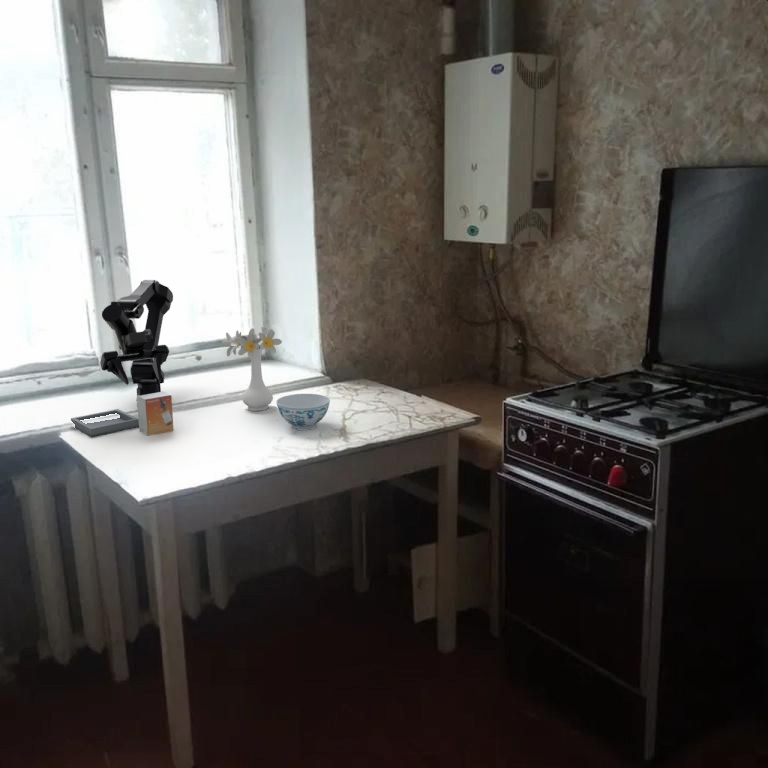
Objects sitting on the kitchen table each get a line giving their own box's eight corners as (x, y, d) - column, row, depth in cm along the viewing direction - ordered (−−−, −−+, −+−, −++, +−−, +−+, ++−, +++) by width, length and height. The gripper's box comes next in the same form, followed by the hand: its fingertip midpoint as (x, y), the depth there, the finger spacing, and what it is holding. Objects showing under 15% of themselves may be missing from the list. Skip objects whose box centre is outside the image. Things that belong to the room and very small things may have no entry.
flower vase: (234, 401, 255) (230, 323, 249) (290, 404, 252) (287, 325, 246) (219, 413, 243) (214, 331, 237) (277, 416, 240) (274, 333, 233)
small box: (147, 436, 221) (144, 399, 219) (138, 431, 225) (135, 395, 223) (174, 430, 226) (171, 394, 224) (165, 426, 230) (163, 390, 228)
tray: (118, 417, 239) (117, 409, 239) (139, 427, 229) (138, 419, 229) (71, 426, 230) (70, 418, 230) (91, 437, 220) (90, 429, 220)
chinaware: (303, 416, 240) (303, 390, 238) (341, 425, 230) (340, 399, 228) (266, 427, 228) (265, 401, 226) (304, 438, 219) (303, 410, 217)
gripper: (99, 324, 223) (115, 370, 217) (164, 317, 234) (181, 361, 228) (93, 347, 231) (109, 392, 225) (156, 339, 242) (173, 382, 236)
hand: (143, 381), depth 228 cm, fingers open, 9 cm apart
